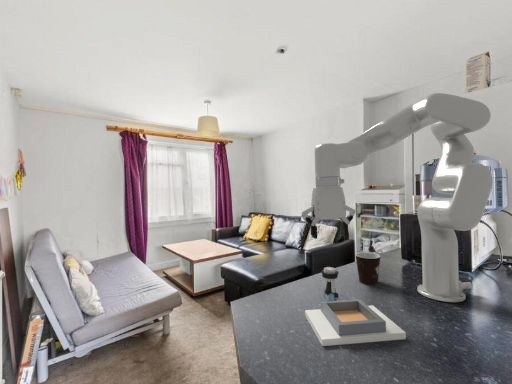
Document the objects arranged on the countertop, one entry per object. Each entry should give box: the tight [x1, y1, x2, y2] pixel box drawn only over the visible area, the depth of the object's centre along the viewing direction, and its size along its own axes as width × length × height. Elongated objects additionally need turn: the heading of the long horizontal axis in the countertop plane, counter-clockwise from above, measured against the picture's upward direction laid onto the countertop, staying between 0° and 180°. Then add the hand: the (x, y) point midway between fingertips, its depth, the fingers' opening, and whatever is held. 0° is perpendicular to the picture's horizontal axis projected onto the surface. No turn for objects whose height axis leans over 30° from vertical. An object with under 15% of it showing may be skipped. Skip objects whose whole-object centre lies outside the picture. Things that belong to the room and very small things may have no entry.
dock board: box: [304, 298, 407, 347], centre depth 64 cm, size 20×14×4 cm
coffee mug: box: [354, 252, 381, 286], centre depth 94 cm, size 12×9×10 cm
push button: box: [320, 266, 340, 301], centre depth 79 cm, size 7×5×10 cm
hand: (329, 237), depth 79 cm, fingers open, 9 cm apart
